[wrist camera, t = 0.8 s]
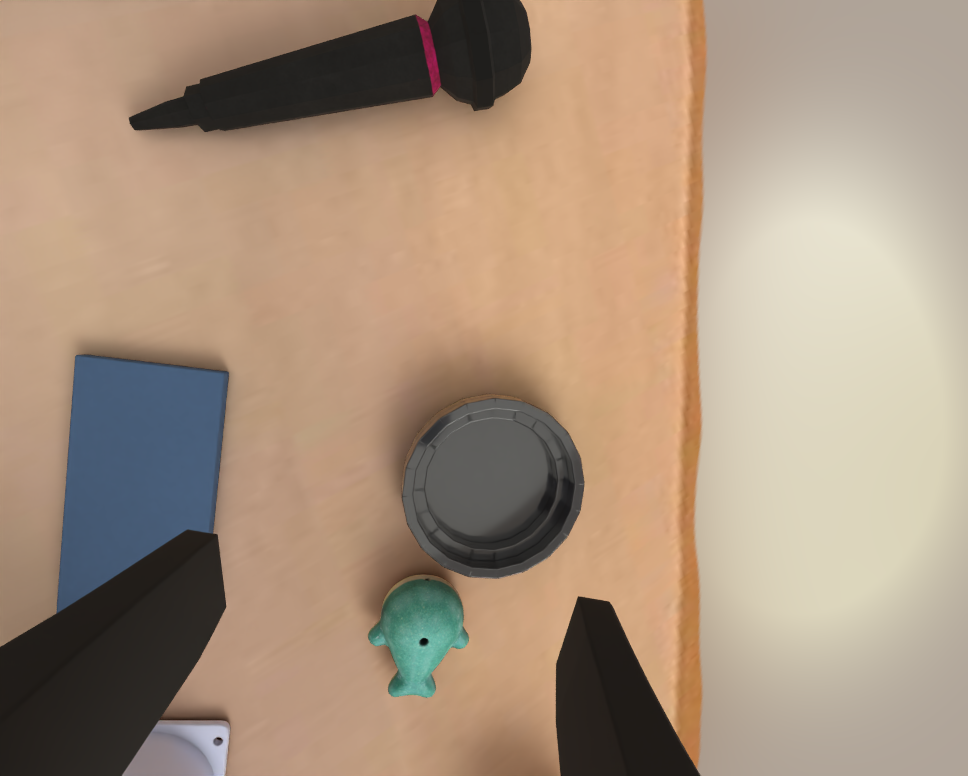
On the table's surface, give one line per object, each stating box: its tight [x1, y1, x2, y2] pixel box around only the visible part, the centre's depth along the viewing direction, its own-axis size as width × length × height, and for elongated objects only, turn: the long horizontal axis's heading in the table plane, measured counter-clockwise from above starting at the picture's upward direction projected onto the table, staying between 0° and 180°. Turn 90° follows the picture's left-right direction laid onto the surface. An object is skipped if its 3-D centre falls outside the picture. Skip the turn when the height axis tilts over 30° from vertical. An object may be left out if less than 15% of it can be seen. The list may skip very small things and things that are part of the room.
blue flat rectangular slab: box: [56, 354, 229, 614], centre depth 26 cm, size 14×7×1 cm, turn 172°
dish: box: [402, 394, 584, 579], centre depth 29 cm, size 10×10×2 cm
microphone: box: [129, 0, 531, 132], centre depth 24 cm, size 6×6×20 cm
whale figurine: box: [368, 575, 469, 698], centre depth 28 cm, size 6×7×4 cm
